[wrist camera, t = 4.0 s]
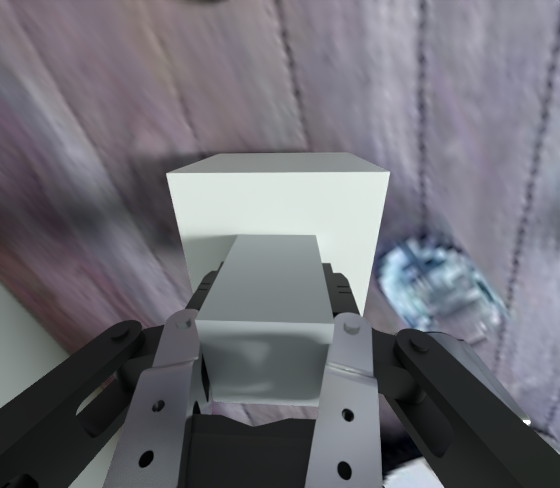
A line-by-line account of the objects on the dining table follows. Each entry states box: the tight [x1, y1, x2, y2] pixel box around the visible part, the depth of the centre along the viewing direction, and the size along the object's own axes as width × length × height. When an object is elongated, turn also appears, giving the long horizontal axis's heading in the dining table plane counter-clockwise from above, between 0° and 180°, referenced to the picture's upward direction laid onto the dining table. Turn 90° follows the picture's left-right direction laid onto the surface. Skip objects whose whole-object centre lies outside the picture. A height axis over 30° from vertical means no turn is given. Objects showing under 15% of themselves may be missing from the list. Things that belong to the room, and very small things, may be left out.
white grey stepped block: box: [166, 152, 390, 406], centre depth 14 cm, size 10×10×15 cm
